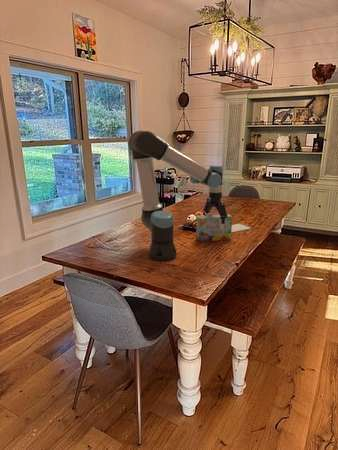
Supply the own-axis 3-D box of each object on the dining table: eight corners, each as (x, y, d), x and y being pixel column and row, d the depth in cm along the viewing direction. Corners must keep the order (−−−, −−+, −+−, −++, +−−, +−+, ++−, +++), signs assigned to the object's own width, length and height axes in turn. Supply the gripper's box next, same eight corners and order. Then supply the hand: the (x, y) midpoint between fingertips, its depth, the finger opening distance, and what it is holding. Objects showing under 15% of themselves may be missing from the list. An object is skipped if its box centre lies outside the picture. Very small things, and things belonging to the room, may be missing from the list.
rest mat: (252, 228, 215) (252, 227, 215) (222, 234, 203) (222, 233, 203) (240, 224, 225) (240, 223, 225) (210, 229, 213) (210, 228, 213)
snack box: (199, 242, 190) (199, 218, 185) (195, 239, 195) (196, 216, 190) (231, 239, 195) (232, 215, 191) (227, 236, 200) (228, 213, 196)
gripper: (234, 194, 178) (233, 230, 184) (208, 187, 198) (207, 220, 205) (224, 196, 174) (223, 232, 180) (198, 189, 195) (197, 222, 201)
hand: (214, 226), depth 193 cm, fingers open, 13 cm apart
